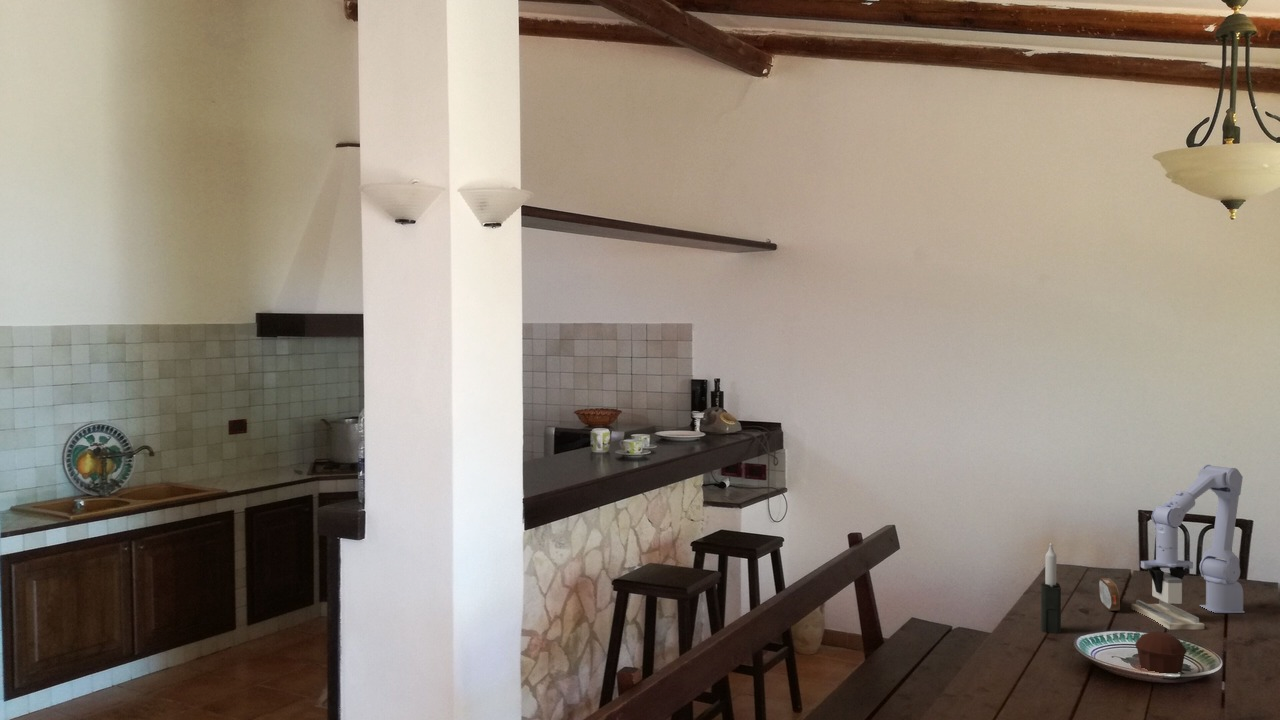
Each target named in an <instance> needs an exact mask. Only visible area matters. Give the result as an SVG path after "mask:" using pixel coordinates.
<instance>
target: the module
mask: <svg viewBox="0 0 1280 720" xmlns="http://www.w3.org/2000/svg"><path fill="white" fill-rule="evenodd" d="M1151 579H1152V578H1151ZM1151 583H1152V584H1151V586H1152V588H1151V592H1152V593H1151V594H1152V595H1151V596H1152V597H1153V598H1156V599H1158V600H1162V601H1164V602H1166V603H1168V604H1172V605H1173V604H1179V605H1180V604H1183V601H1182V600H1183V579H1179V578H1177V577H1175V576H1172V575H1170V573H1168V572H1164V575H1163V581H1162V593H1158V592H1156V589H1155V585H1154V581H1153V579H1152V581H1151Z"/></svg>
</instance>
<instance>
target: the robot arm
mask: <svg viewBox="0 0 1280 720" xmlns="http://www.w3.org/2000/svg"><path fill="white" fill-rule="evenodd" d="M1242 485H1243V475H1242V473H1241V472H1240V470H1239V469H1238V468H1236V467H1227V466H1218V465H1217V466H1216V465H1211V464H1206V465H1205V464H1204V466H1202V467H1201V468H1200V469H1199V470H1198V477H1197V478H1196V479H1195V480H1194V481H1193V482H1192V483H1191V485H1190V486H1189V487H1187V489H1186V490H1179V491H1176V493H1175V494H1174V496H1173V495H1172V497H1171V498H1170V499H1169V500H1168V501H1166V502H1165V503H1164V504H1163V505H1158V506H1156V507H1155V508H1154V509H1153V510H1152V513H1151V515H1150V517H1151V520H1152V523H1153V528H1154V530H1155V559H1151V560H1150V559H1149V560H1140V568H1142V569H1144V570H1148V572H1149V574H1150V577H1151V579H1153V581H1154V585H1155V589H1156V592H1158V593H1162V581H1163V575H1164V573H1165V572H1164V571H1163V570H1162V569H1169V574H1170V575H1172V576H1175V577H1177V578H1179V579H1182V580H1183V579H1184V578H1185V575H1187V570H1186V569H1190V570H1191V569H1193V568H1194V562H1193V561H1191V560H1178V558H1179V555H1178V554H1179V551H1178V549H1179V547H1178V546H1179V545H1178V543H1179V541H1178V540H1179V539H1178V537H1179V534H1178V532H1179V527H1180V526H1181V525H1182V523H1183V520H1184V518H1185V516H1186V514H1187V513H1188V512H1189V511H1190V510H1191V509H1193V507H1195V506H1196V499H1198V498H1199V497H1201V496H1202V495H1204V493H1205V494H1206V492H1207V491H1208V490H1211V492H1213V493H1215V495H1216V496H1217V507H1216V512H1215V521H1214V528H1213V535H1212V536H1213V537H1212V542H1211V543H1212V544H1211V547H1210V548H1209V549H1207V550H1205V551H1203V554H1202V555H1203V556H1202V559H1201V561H1200V563H1199V567H1198V568H1199V571H1200V574H1201V576H1202V577H1203V580H1205V604H1199V607H1200V606H1201V608H1202V607H1203V609H1204V608H1205V609H1204V610H1206V609H1207V610H1206V611H1208V612H1211V611H1212V612H1211V613H1213V612H1214V614H1244V613H1246V611H1244V589H1243V586H1242V584H1241V583H1240V582H1239V581H1238V580H1239V578H1240V576H1241V567H1240V560H1241V559H1240V558H1239V557H1238V555H1236V554H1235V552H1233V551H1232V550H1233V544H1234V543H1233V542H1234V538H1235V537H1234V536H1235V529H1236V528H1235V527H1236V520H1237V515H1238V514H1237V513H1238V508H1239V507H1238V506H1239V500H1240V499H1239V498H1240V495H1241V491H1242Z"/></svg>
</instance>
